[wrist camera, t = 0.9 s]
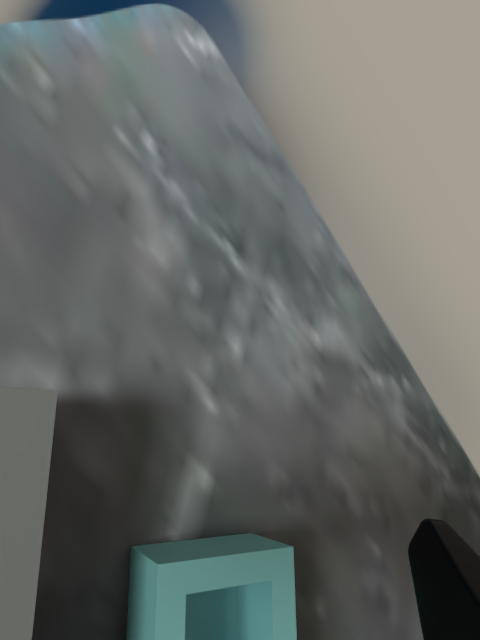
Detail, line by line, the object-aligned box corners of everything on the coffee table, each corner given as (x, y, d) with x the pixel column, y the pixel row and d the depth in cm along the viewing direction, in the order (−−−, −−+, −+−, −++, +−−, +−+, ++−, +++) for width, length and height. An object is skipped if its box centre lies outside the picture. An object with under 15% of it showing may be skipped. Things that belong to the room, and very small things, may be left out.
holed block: (251, 674, 27) (299, 716, 23) (121, 711, 24) (149, 769, 19) (249, 532, 29) (293, 546, 25) (130, 545, 26) (158, 564, 22)
